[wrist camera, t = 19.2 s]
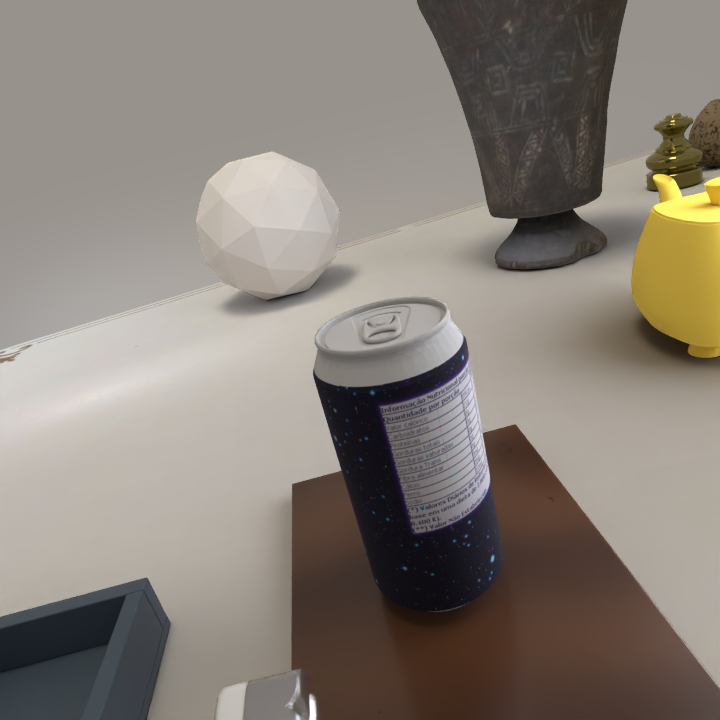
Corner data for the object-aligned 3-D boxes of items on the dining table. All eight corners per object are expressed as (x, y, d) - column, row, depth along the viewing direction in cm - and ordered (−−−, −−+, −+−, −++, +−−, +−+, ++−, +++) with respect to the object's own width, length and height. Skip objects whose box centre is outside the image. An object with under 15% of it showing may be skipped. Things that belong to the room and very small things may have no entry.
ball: (335, 327, 82) (384, 208, 70) (199, 329, 72) (229, 190, 59) (294, 251, 93) (330, 137, 81) (171, 244, 83) (191, 112, 71)
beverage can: (491, 518, 27) (448, 282, 22) (521, 615, 21) (473, 332, 17) (376, 539, 27) (311, 312, 23) (377, 638, 22) (294, 371, 17)
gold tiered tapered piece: (688, 176, 86) (688, 107, 82) (712, 182, 79) (713, 107, 76) (639, 187, 87) (636, 120, 84) (658, 194, 81) (656, 121, 77)
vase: (426, 281, 68) (372, 3, 57) (520, 229, 81) (492, -8, 69) (603, 289, 52) (578, -95, 41) (686, 224, 65) (686, -86, 53)
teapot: (597, 304, 50) (588, 182, 45) (726, 277, 48) (729, 149, 44) (706, 397, 33) (708, 219, 29) (908, 360, 32) (940, 168, 28)
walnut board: (785, 794, 15) (787, 772, 15) (299, 929, 15) (289, 910, 15) (517, 437, 34) (515, 423, 34) (296, 496, 34) (291, 483, 33)
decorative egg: (701, 163, 93) (702, 99, 89) (750, 159, 87) (752, 90, 83) (679, 174, 89) (679, 108, 86) (728, 170, 84) (730, 99, 80)
